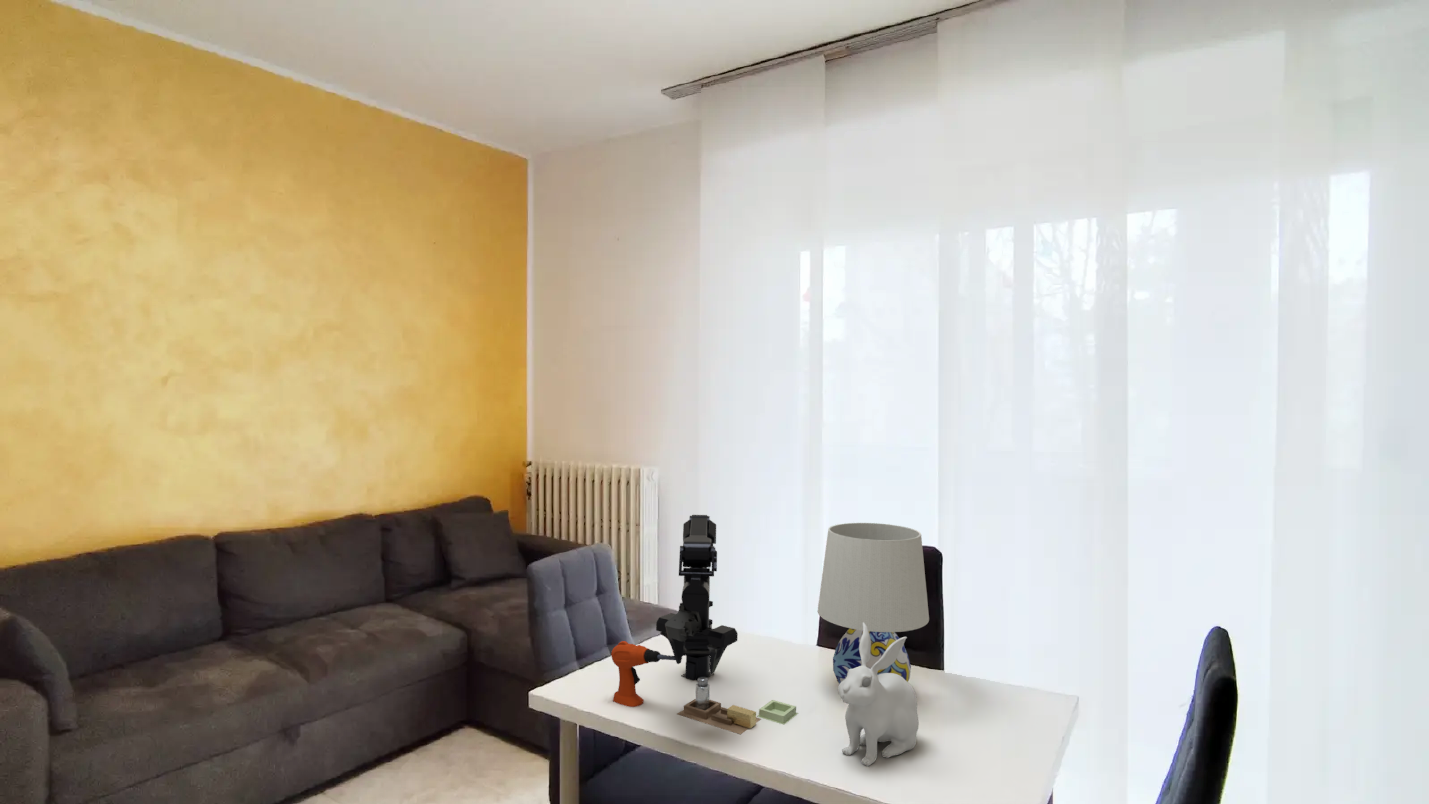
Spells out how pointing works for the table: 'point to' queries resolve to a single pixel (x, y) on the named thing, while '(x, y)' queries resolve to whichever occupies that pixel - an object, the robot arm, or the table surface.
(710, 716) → the socket block
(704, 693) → the chrome stepped cylinder
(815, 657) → the table surface
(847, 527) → the table lamp
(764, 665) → the table surface
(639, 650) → the toy drill
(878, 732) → the rabbit
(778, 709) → the tray
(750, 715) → the yellow rectangular block
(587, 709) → the table surface
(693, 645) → the robot arm
